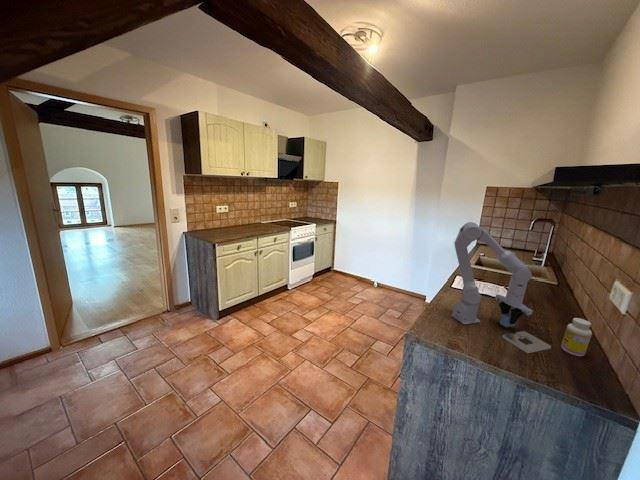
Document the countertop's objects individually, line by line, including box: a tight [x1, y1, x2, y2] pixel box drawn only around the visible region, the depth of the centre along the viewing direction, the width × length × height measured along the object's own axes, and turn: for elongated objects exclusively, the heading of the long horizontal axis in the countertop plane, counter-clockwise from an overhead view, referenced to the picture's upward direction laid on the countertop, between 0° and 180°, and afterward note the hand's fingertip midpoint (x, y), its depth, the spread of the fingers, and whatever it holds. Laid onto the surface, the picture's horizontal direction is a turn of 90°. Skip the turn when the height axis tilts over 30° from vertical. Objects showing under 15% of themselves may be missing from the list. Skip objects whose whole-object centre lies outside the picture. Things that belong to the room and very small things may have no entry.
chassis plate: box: [501, 330, 552, 354], centre depth 101 cm, size 12×10×1 cm
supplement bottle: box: [560, 317, 593, 357], centre depth 95 cm, size 7×7×13 cm
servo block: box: [499, 312, 517, 328], centre depth 110 cm, size 5×3×5 cm, turn 106°
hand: (508, 321), depth 110 cm, fingers closed on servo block, 3 cm apart
